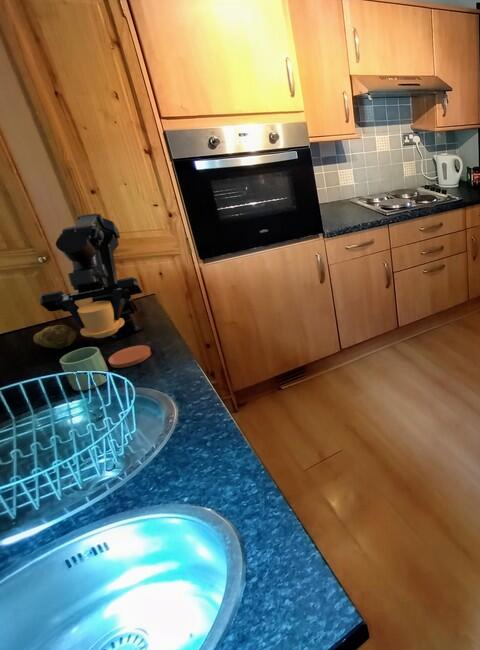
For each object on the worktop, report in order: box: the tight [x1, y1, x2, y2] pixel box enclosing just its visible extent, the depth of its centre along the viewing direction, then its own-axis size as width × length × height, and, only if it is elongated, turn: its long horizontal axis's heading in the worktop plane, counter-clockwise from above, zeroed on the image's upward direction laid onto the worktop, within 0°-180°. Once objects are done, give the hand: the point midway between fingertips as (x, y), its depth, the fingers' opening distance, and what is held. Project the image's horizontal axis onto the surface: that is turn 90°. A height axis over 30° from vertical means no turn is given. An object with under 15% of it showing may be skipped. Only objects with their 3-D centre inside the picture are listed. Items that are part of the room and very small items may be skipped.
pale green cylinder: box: [59, 346, 110, 392], centre depth 113 cm, size 7×7×8 cm
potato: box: [32, 324, 77, 350], centre depth 126 cm, size 8×13×8 cm, turn 50°
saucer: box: [107, 344, 152, 369], centre depth 123 cm, size 9×9×1 cm
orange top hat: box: [77, 301, 125, 339], centre depth 114 cm, size 9×9×8 cm
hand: (100, 324), depth 114 cm, fingers closed on orange top hat, 6 cm apart
